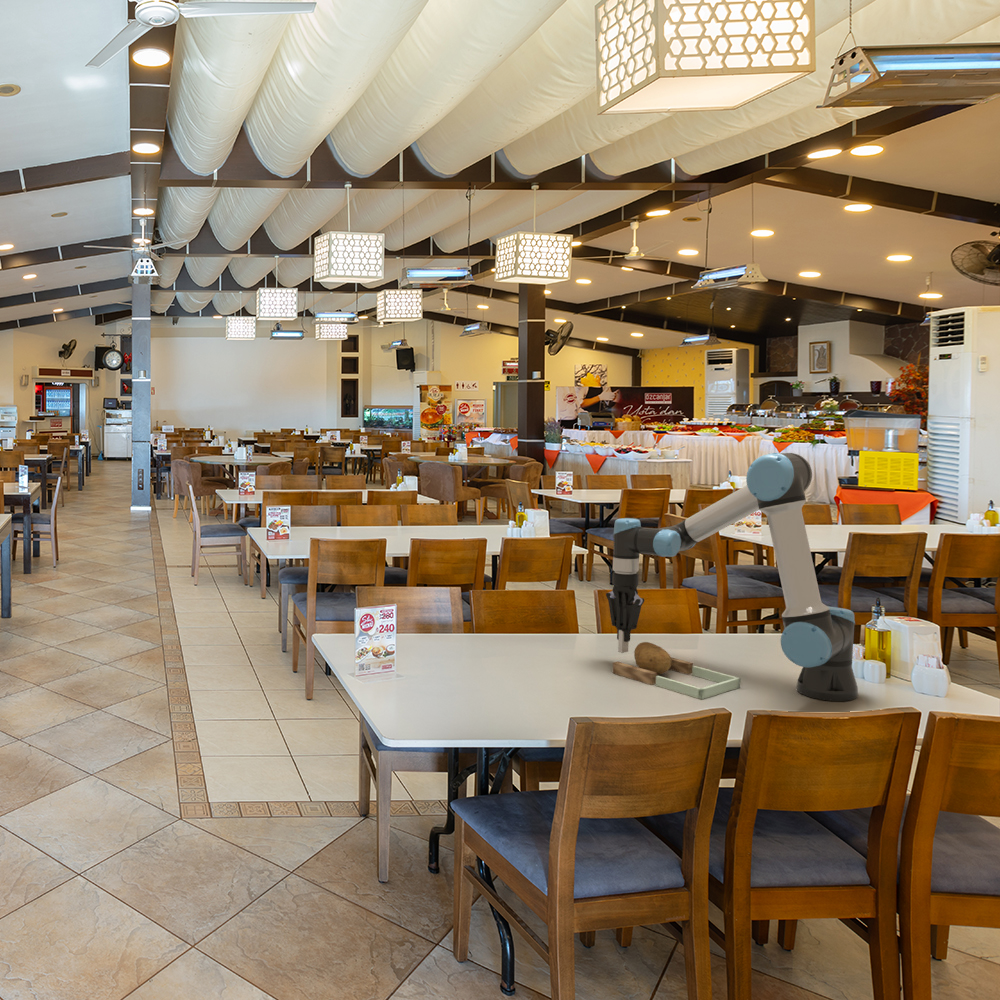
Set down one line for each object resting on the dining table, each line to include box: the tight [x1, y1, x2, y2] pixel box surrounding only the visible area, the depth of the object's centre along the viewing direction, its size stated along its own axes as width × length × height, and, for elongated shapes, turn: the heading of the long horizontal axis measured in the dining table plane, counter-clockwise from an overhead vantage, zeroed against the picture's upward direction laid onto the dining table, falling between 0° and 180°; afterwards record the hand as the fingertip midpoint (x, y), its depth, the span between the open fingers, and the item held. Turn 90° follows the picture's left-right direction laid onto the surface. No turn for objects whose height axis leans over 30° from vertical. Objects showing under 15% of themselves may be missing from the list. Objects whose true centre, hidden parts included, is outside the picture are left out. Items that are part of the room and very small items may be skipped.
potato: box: [633, 641, 672, 676], centre depth 246 cm, size 10×14×8 cm
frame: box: [655, 665, 741, 700], centre depth 235 cm, size 15×17×2 cm
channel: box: [612, 656, 694, 686], centre depth 246 cm, size 14×18×3 cm
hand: (623, 651), depth 254 cm, fingers closed
